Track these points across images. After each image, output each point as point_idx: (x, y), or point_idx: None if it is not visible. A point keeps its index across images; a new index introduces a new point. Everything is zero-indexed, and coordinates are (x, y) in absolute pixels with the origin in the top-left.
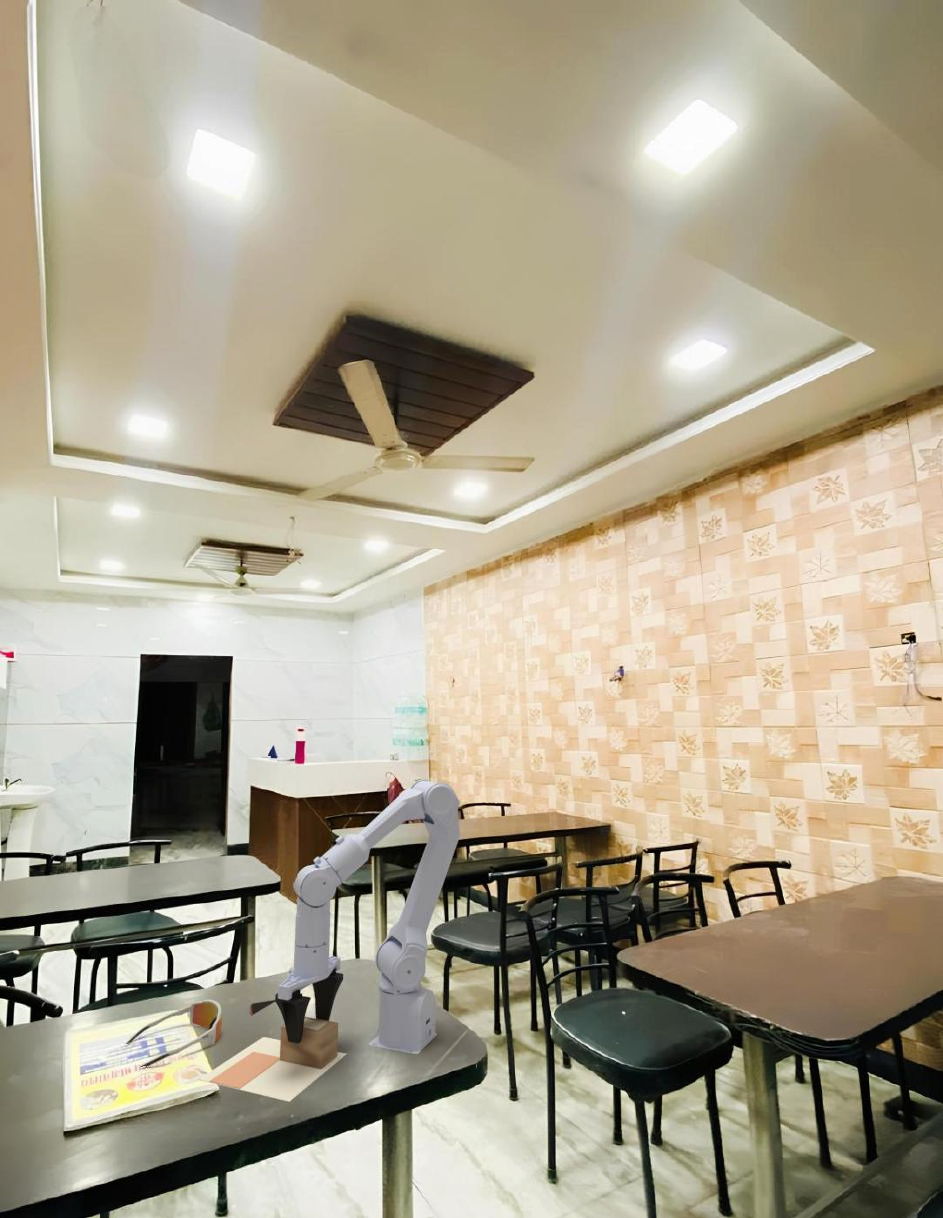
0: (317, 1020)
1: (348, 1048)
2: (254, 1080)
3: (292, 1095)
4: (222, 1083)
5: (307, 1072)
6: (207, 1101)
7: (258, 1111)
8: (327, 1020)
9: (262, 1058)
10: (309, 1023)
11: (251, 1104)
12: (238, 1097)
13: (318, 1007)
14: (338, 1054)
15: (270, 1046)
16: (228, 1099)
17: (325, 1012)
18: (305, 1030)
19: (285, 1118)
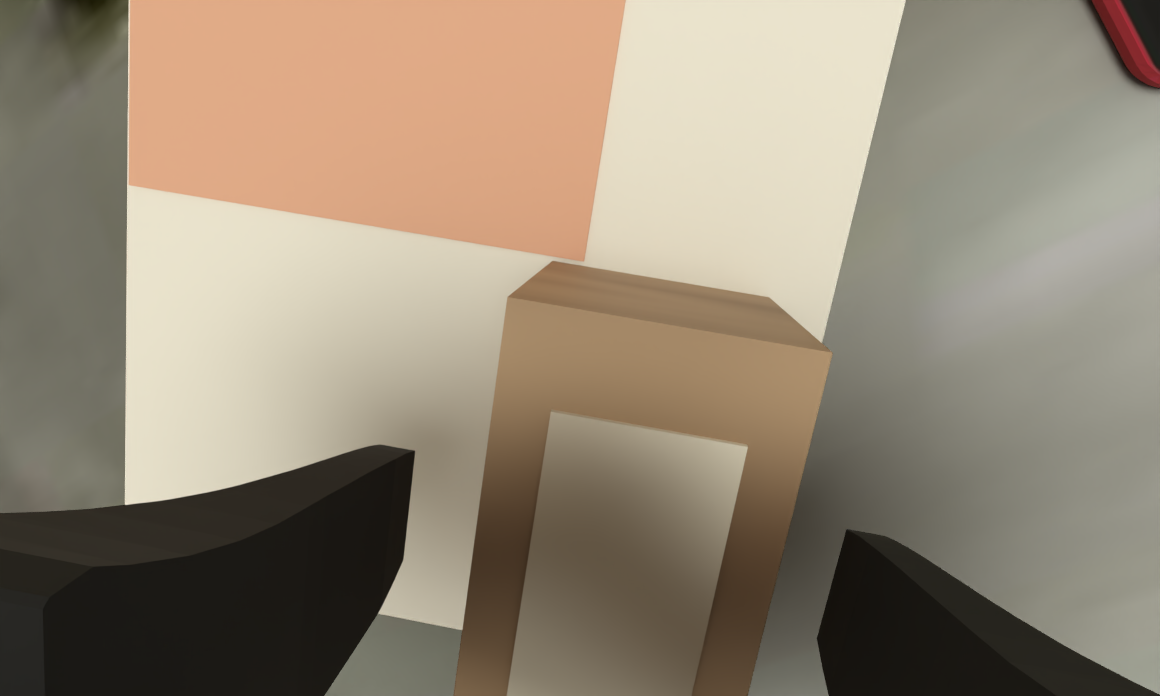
0: (727, 622)
1: None
2: (254, 226)
3: None
4: (138, 12)
5: (442, 532)
6: (9, 19)
7: (44, 407)
8: (823, 667)
9: (537, 110)
10: (625, 580)
11: (85, 329)
12: (117, 203)
13: (897, 627)
14: None
15: (760, 51)
16: (77, 151)
17: (852, 693)
18: (483, 593)
19: None
